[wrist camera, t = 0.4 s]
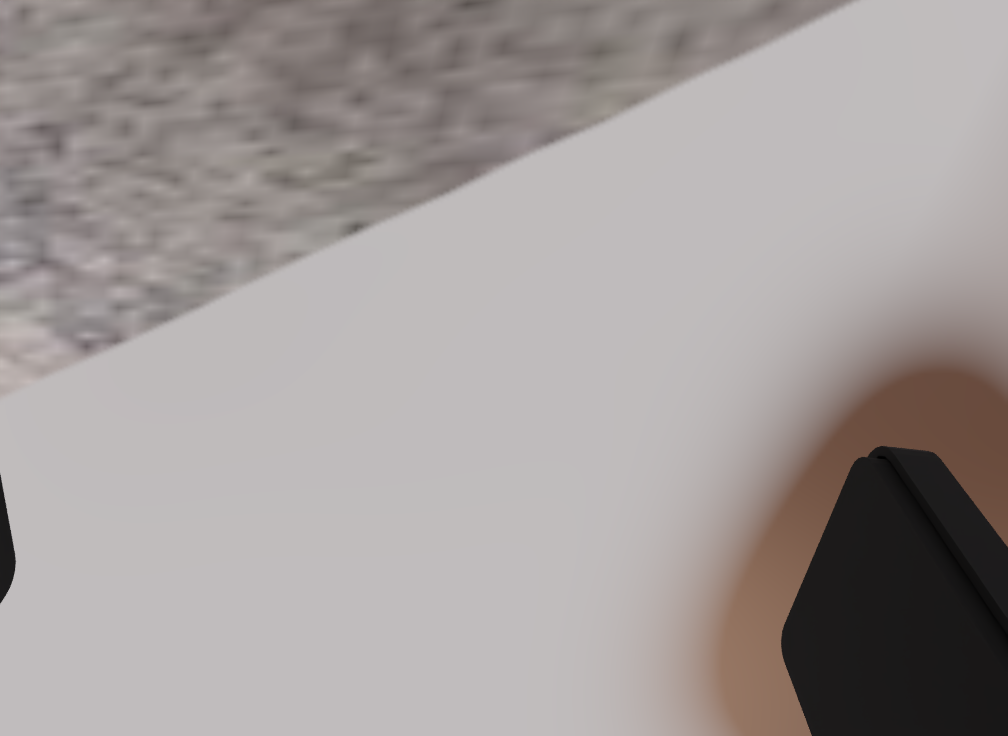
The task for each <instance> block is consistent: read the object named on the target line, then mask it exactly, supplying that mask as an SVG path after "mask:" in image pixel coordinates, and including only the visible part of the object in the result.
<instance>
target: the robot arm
mask: <svg viewBox="0 0 1008 736" xmlns="http://www.w3.org/2000/svg"><path fill="white" fill-rule="evenodd" d="M15 564H16V560H15V552H14V546H13V541H12V536H11V530H10V524H9V519H8V514H7V508H6V503H5V498H4V492H3V487H2V481H1V475H0V603H1V602H2V600H3V599H4V597H5V596H6V594H7V592H8V590H9V588H10V586H11V583H12V581H13V577H14V572H15ZM781 647H782V655H783V659H784V662H785V665H786V667H787V670H788V673H789V676H790V678H791V681H792V684H793V686H794V689H795V692H796V694H797V697H798V700H799V702H800V705H801V707H802V710H803V713H804V716H805V718H806V721H807V724H808V726H809V729H810V732H811V734H812V736H1008V547H1007V546H1006V544H1005V543H1004V542H1003V541H1002V539H1001V538H1000V537H999V535H998V534H997V533H996V531H995V530H994V529H993V527H992V526H991V525H990V523H989V522H988V521H987V519H986V518H985V517H984V516H983V514H982V513H981V512H980V510H979V509H978V508H977V506H976V505H975V504H974V502H973V501H972V500H971V498H970V497H969V496H968V494H967V493H966V492H965V491H964V489H963V488H962V487H961V485H960V484H959V483H958V481H957V480H956V479H955V477H954V476H953V475H952V474H951V472H950V471H949V469H948V468H947V467H946V466H945V464H944V463H943V462H942V460H941V459H940V458H939V457H938V456H937V455H936V454H935V453H933V452H929V451H923V450H913V449H905V448H896V447H887V446H880V447H877V448H875V449H874V450H873V451H872V452H871V453H870V454H869V456H868V457H861V458H858V459H857V460H856V461H855V462H854V464H853V466H852V467H851V469H850V472H849V474H848V476H847V479H846V481H845V484H844V486H843V488H842V490H841V493H840V495H839V497H838V500H837V502H836V504H835V507H834V509H833V512H832V514H831V516H830V519H829V521H828V524H827V526H826V528H825V530H824V533H823V535H822V538H821V540H820V542H819V544H818V547H817V549H816V552H815V554H814V556H813V559H812V561H811V563H810V566H809V568H808V570H807V573H806V575H805V577H804V580H803V582H802V584H801V587H800V589H799V591H798V594H797V596H796V598H795V601H794V603H793V606H792V608H791V610H790V613H789V615H788V617H787V620H786V622H785V624H784V628H783V631H782V639H781Z"/></svg>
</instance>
